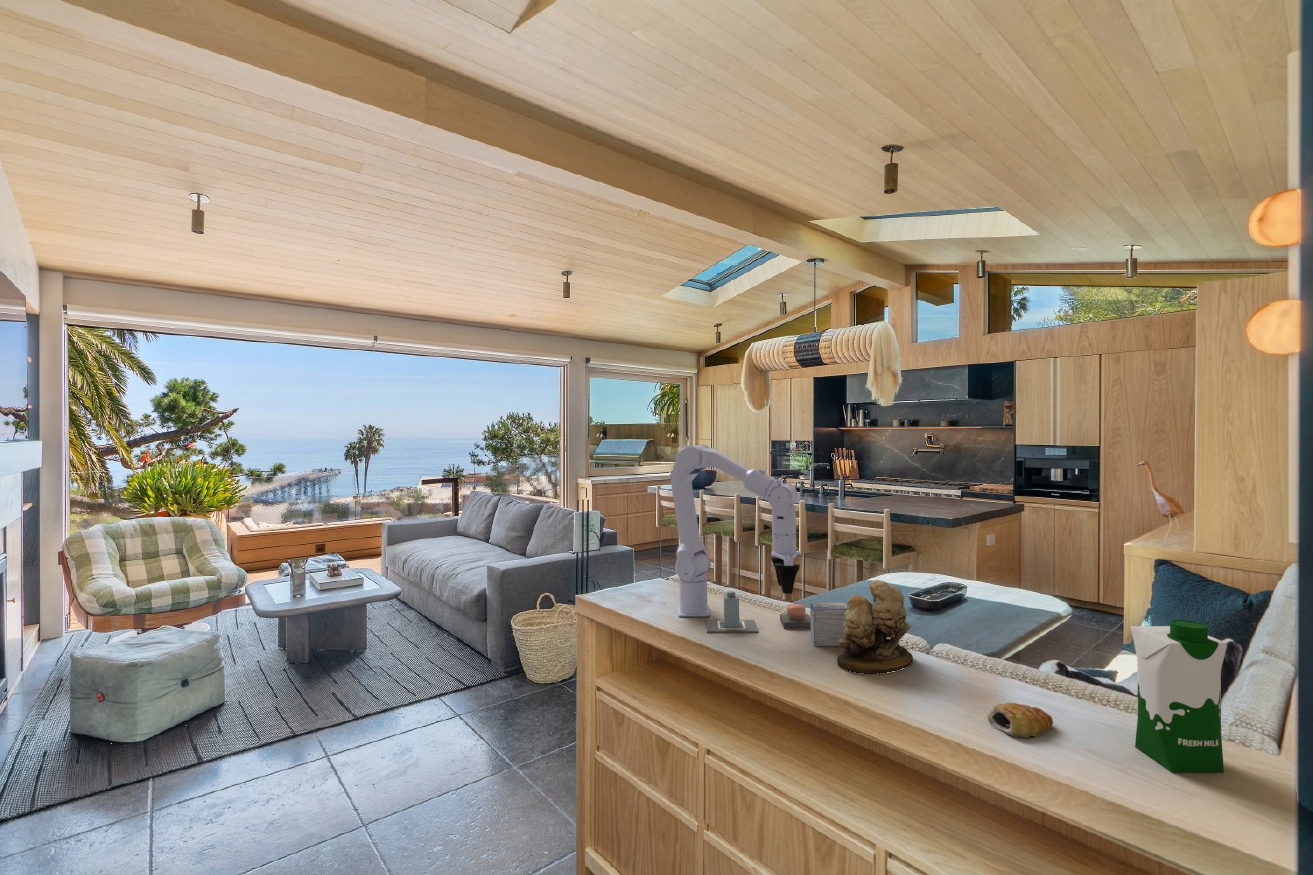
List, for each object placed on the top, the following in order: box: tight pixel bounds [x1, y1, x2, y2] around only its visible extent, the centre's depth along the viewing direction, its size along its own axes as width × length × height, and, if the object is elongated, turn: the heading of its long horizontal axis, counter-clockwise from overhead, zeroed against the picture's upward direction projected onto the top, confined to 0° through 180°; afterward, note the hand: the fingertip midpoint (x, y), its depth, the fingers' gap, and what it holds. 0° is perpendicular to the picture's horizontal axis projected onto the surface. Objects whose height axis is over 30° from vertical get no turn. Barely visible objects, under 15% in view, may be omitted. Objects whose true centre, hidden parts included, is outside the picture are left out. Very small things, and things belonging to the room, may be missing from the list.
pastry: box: [986, 702, 1054, 739], centre depth 100 cm, size 9×7×4 cm
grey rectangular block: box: [723, 590, 740, 627], centre depth 154 cm, size 4×4×8 cm
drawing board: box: [705, 619, 759, 634], centre depth 154 cm, size 9×12×1 cm
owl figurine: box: [836, 579, 914, 675], centre depth 129 cm, size 18×12×17 cm, turn 120°
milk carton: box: [1130, 619, 1228, 774], centre depth 90 cm, size 9×9×20 cm
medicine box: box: [809, 602, 847, 647], centre depth 141 cm, size 8×4×9 cm, turn 84°
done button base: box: [779, 613, 811, 630], centre depth 155 cm, size 7×7×2 cm
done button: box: [786, 603, 806, 618], centre depth 155 cm, size 4×4×2 cm
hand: (785, 589), depth 155 cm, fingers open, 7 cm apart
